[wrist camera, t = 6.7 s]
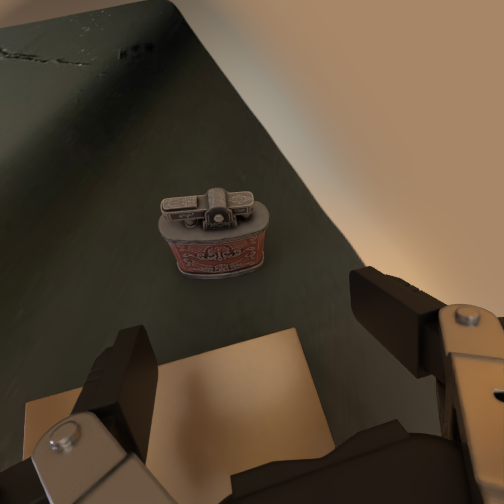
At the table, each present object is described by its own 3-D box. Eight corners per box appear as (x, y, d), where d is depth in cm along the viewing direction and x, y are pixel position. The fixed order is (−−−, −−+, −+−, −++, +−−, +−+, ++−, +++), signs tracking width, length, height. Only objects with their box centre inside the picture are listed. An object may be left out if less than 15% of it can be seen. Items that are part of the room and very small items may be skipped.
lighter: (260, 242, 29) (268, 172, 20) (265, 273, 28) (275, 213, 19) (178, 250, 28) (148, 182, 20) (179, 283, 27) (146, 225, 18)
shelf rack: (101, 574, 18) (9, 687, 11) (95, 401, 23) (25, 402, 15) (324, 492, 20) (368, 543, 13) (280, 347, 25) (294, 326, 17)
